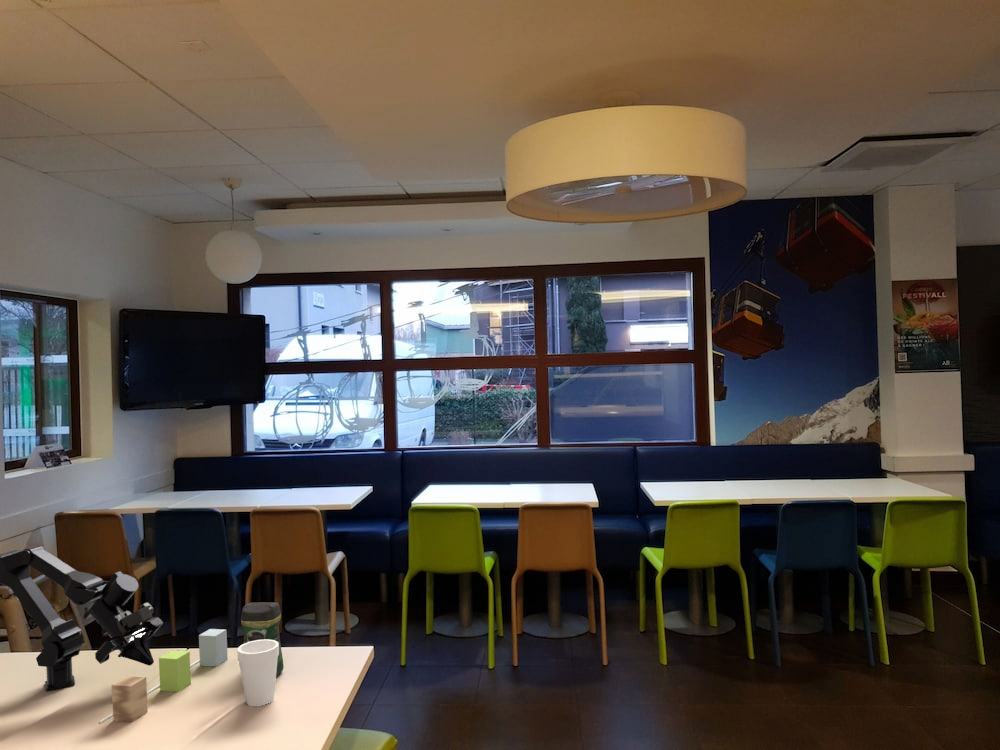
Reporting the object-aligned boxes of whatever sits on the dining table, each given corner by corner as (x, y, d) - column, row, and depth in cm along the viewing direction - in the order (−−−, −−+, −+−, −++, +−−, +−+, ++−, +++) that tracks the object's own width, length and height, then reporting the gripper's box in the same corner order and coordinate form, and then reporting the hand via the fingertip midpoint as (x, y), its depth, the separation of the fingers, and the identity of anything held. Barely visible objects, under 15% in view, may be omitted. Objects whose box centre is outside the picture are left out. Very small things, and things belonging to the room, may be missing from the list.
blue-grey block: (199, 665, 203) (198, 635, 203) (211, 658, 208) (209, 628, 208) (216, 666, 202) (215, 636, 202) (227, 659, 207) (226, 629, 207)
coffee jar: (287, 668, 202) (284, 598, 202) (275, 680, 195) (272, 607, 194) (252, 668, 203) (249, 598, 203) (239, 680, 196) (236, 607, 195)
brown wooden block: (113, 720, 172) (111, 685, 172) (128, 710, 177) (127, 676, 177) (132, 722, 171) (130, 686, 171) (147, 712, 176) (146, 677, 176)
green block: (160, 690, 188) (158, 658, 188) (173, 682, 193) (171, 650, 193) (178, 691, 187) (176, 659, 187) (190, 683, 191) (189, 651, 191)
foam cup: (268, 710, 177) (266, 654, 177) (231, 708, 179) (229, 653, 179) (287, 693, 186) (285, 640, 186) (252, 691, 188) (250, 638, 188)
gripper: (103, 608, 183) (145, 656, 181) (155, 585, 201) (194, 629, 199) (76, 639, 185) (118, 687, 182) (130, 614, 203) (168, 658, 201)
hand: (151, 664), depth 191 cm, fingers closed
